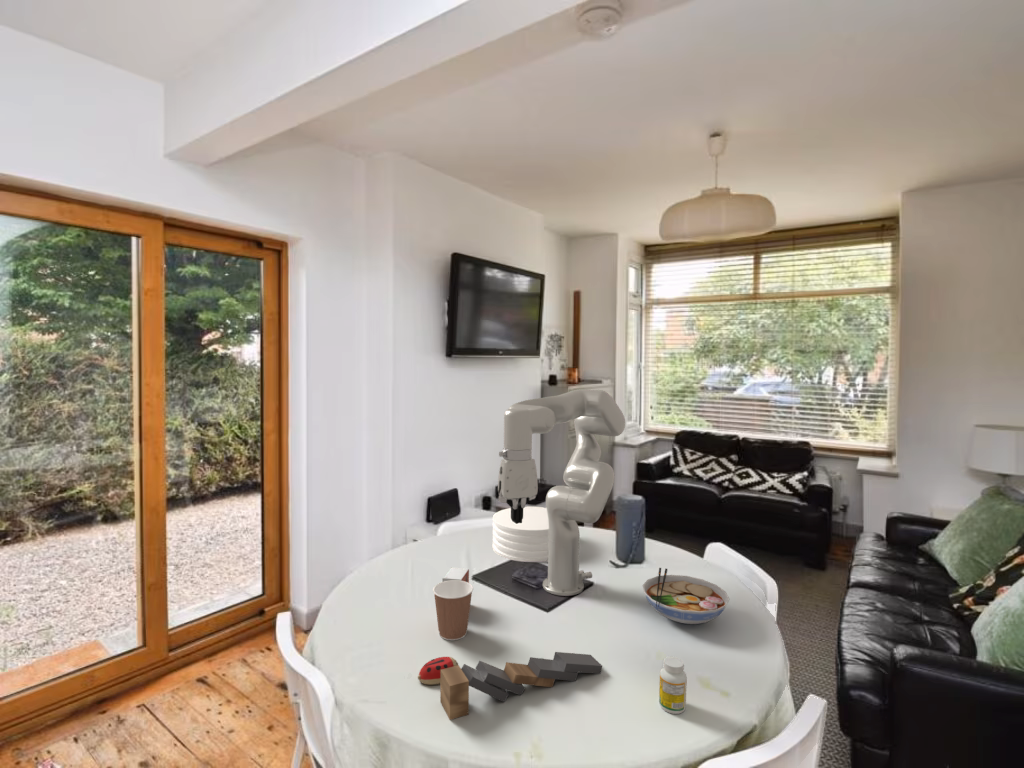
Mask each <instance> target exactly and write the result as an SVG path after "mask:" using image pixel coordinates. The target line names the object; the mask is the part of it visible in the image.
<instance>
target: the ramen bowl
mask: <svg viewBox="0 0 1024 768" xmlns="http://www.w3.org/2000/svg"><path fill="white" fill-rule="evenodd" d="M663 573H664V574H663V575H662V567H659V568H658V575H657V576H654V577H651V578H649V579H647V580H646V581H645V582H644V583H643V584H642V589H643V592H644V595H645V597H646V599H647V601H648V602H649V604H650V605H651V606H652V608H653V609H654V610H655V611H656V612H657V613H659V614H660V615H661V616H663V617H665V618H667V619H669V620H671V621H674V622H676V623H679V624H684V625H697V624H705V623H708V622H709V621H713V620H714V619H716V618H718V616H720V615H721V614H722V612H723V611H724V610H725V608H726V607H727V605H728V603H729V601H730V597H729V596H728V594H727V591H726V590H724V589H722V588H721V587H720V586H719V585H717V584H715V583H712V582H710V581H708V580H705V579H703V578H697V577H694V576H688V575H682V574H681V575H680V574H668V568H665V569H664V572H663Z"/></svg>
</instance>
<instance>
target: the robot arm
mask: <svg viewBox="0 0 1024 768" xmlns="http://www.w3.org/2000/svg"><path fill="white" fill-rule="evenodd" d="M624 415H625V414H624V413H623V411H622V410H621V408H620V407H619V405H618V404H617V402H616V401H615V399H614V398H613V397H612V396H611V395H610V394H609V393H608V392H606V391H605V390H599V389H584V388H581V389H578V388H577V389H575V390H574V389H573V390H571V391H568V392H564V393H561V394H558V395H552V396H545V397H539V398H532V399H525V400H521V401H519V402H516V403H512V405H510V406H509V407H508V408H507V409H506V410H505V411H504V414H503V448H502V451H499V453H498V457H499V458H503V459H501V461H500V465H499V470H498V479H497V481H498V482H497V493H498V497H497V498H498V499H497V501H498V502H499V503H501V504H502V503H503V504H506V505H508V506H509V508H511V519H512V521H513V522H514V523H516V524H518V523H522V519H523V508H525V507H526V505H527V504H528V502H529V501H532V500H535V499H536V497H537V495H538V489H539V487H538V486H539V485H538V473H537V471H538V469H537V466H536V460H535V459H534V458H532V457H533V456H532V455H533V449H532V448H533V434H536V435H537V434H541V435H542V434H547V433H549V432H551V431H552V430H553V428H555V425H559V424H565V423H569V422H571V421H573V420H574V421H573V424H574V431H575V439H576V445H575V448H574V451H572V454H571V456H570V459H569V461H568V463H567V465H566V466H565V469H564V471H563V477H562V478H563V479H562V480H563V481H564V483H565V485H555V486H553V487H551V488H550V489H549V490H548V491H547V493H546V496H545V508H546V509H547V514H548V524H549V538H548V561H547V578H545V579H544V580H543V581H542V587H543V589H544V591H545V592H547V593H549V594H552V595H555V596H562V597H564V596H565V597H569V596H576V595H577V594H580V593H582V592H583V590H584V588H585V587H584V583H583V581H585V580H588V579H592V578H593V573H592V571H587V572H585V571H584V570H583V569H582V570H580V536H581V535H580V528H579V525H578V523H577V522H579V523H585V524H594V523H596V522H597V521H599V519H600V517H601V516H602V513H603V511H604V509H605V507H606V504H607V501H608V499H609V497H610V494H611V493H612V489H613V487H614V485H615V483H614V482H615V471H614V468H613V467H612V466H611V465H610V464H609V463H607V462H603V461H600V459H601V456H602V450H601V446H600V444H599V443H598V441H597V439H596V436H607V437H618V436H620V435H622V434H623V432H624V430H625V428H626V419H625V416H624ZM595 435H596V436H595Z"/></svg>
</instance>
